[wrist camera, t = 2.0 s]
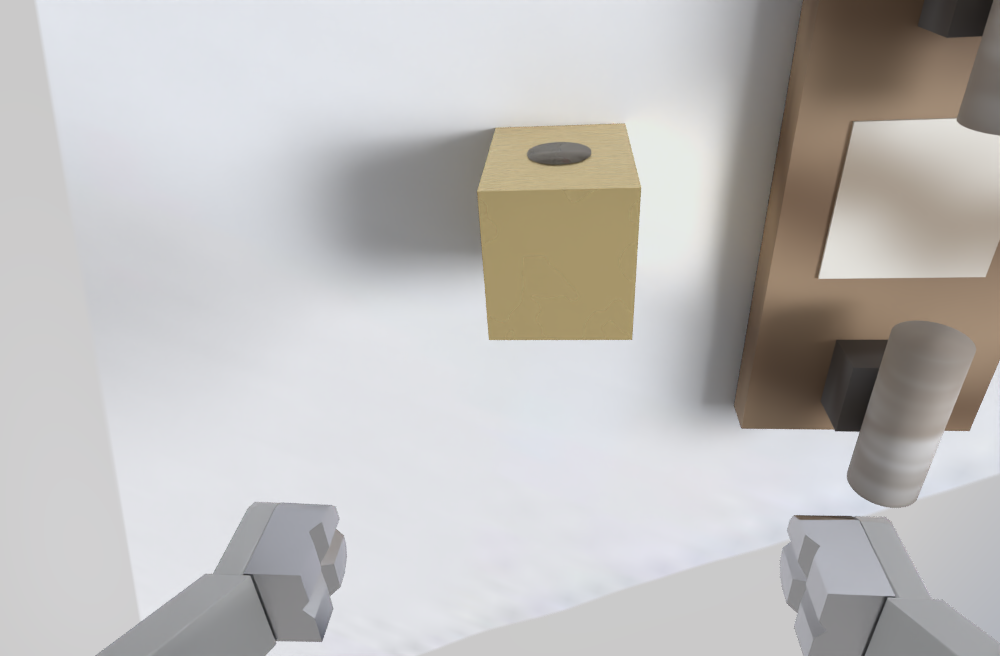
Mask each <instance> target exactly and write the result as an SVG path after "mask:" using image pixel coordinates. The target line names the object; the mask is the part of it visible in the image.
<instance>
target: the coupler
mask: <svg viewBox="0 0 1000 656" xmlns="http://www.w3.org/2000/svg"><path fill="white" fill-rule="evenodd" d="M477 196H478V208H479V221H480V233H481V246H482V258H483V271H484V283H485V296H486V308H487V321H488V333H489V340H632V332H633V315H634V298H635V282H636V265H637V248H638V231H639V214H640V197H641V185H640V181H639V177H638V173H637V169H636V165H635V161H634V157H633V153H632V149H631V145H630V141H629V137H628V133H627V129H626V125H625V124H595V125H565V126H535V127H505V128H496V129H495V132H494V135H493V139H492V142H491V146H490V149H489V153H488V156H487V159H486V163H485V166H484V170H483V173H482V177H481V180H480V183H479V187H478V190H477Z"/></svg>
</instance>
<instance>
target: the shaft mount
mask: <svg viewBox="0 0 1000 656" xmlns="http://www.w3.org/2000/svg"><path fill="white" fill-rule="evenodd" d="M999 360H1000V0H803V2H802V8H801V14H800V20H799V26H798V32H797V38H796V44H795V50H794V55H793V61H792V67H791V73H790V79H789V85H788V91H787V97H786V102H785V108H784V114H783V120H782V126H781V132H780V138H779V144H778V149H777V155H776V161H775V167H774V173H773V179H772V185H771V191H770V197H769V202H768V208H767V214H766V220H765V226H764V232H763V238H762V244H761V249H760V255H759V261H758V267H757V273H756V279H755V285H754V291H753V296H752V302H751V308H750V314H749V320H748V326H747V332H746V338H745V343H744V349H743V355H742V361H741V367H740V373H739V379H738V385H737V391H736V396H735V402H734V407H735V410H736V413H737V416H738V420H739V423H740V426H741V428H743V429H835V431H857V432H860V433H859V436H858V439H857V442H856V446H855V449H854V452H853V455H852V459H851V462H850V465H849V468H848V471H847V480H848V482H849V484H850V486H851V487H852V489H853V490H854V491H855V492H856V493H857V494H859V495H860V496H861V497H863V498H864V499H866V500H868V501H870V502H872V503H874V504H877V505H880V506H884V507H890V508H901V507H906V506H909V505H911V504H913V503H914V502H915V501H916V500H917V498H918V495H919V493H920V490H921V488H922V485H923V483H924V480H925V478H926V475H927V473H928V470H929V468H930V465H931V463H932V460H933V458H934V455H935V453H936V450H937V448H938V445H939V443H940V440H941V438H942V435H943V433H944V431H970V428H971V426H972V424H973V421H974V419H975V417H976V414H977V412H978V410H979V407H980V405H981V403H982V400H983V398H984V396H985V393H986V391H987V389H988V386H989V384H990V382H991V379H992V377H993V374H994V372H995V370H996V367H997V365H998V363H999Z"/></svg>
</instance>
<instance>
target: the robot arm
mask: <svg viewBox="0 0 1000 656" xmlns="http://www.w3.org/2000/svg"><path fill="white" fill-rule="evenodd" d="M338 522H339V516H338V512H337V509H336V506H332V505H319V504H299V503H271V502H254V503H253V504H252V505H251V506H250V507H249V508H248V509H247V511H246V513H245V515H244V517H243V518H242V520H241V522H240V524H239V526H238V528H237V530H236V532H235V533H234V535H233V537H232V539H231V541H230V543H229V545H228V547H227V549H226V550H225V552H224V554H223V556H222V558H221V560H220V562H219V564H218V566H217V567H216V569H215V571H214V573H213V574H205V575H203V576H202V577H200V578H199V579H198V580H196V581H195V582H194V583H192V584H191V585H190V586H188V587H187V588H186V589H184V590H183V591H182V592H180V593H179V594H178V595H176V596H175V597H174V598H172V599H171V600H170V601H168V602H167V603H165V604H164V605H163V606H161V607H160V608H159V609H157V610H156V611H155V612H153V613H152V614H151V615H149V616H148V617H147V618H145V619H144V620H143V621H141V622H140V623H139V624H137V625H136V626H135V627H134V628H132V629H131V630H129V631H128V632H126V634H124V635H122V636H121V637H120V638H118V639H117V640H116V641H115V642H113V643H112V644H110V645H109V646H108V647H106V648H105V649H104V650H102V651H101V652H100V653H98V654H97V655H96V656H265V655H266V654H267V653H268V652H269V651H270V650H271V649H272V648H273V647H274V646H275V645H276V641H306V642H322V641H323V638H324V635H325V632H326V629H327V626H328V623H329V620H330V617H331V614H332V611H333V606H332V602H331V599H330V596H331V595H332V594H333V593H334V592H335V591H336V590H337V589H339V588H340V587H341V583H342V580H343V577H344V574H345V567H346V559H347V551H346V542H345V538H344V535H343V534H341V533H340V532H339V531H338V530H337V529H336V527H337V524H338ZM787 532H788V535H789V538H790V541H791V542H790V543H789V544H788V545H786V546H785V547H783V549H782V554H781V559H780V578H781V584H782V589H783V593H784V596H785V599H786V603H787V604H788V605H789V606H790V607H791V608H792V609H793V610H795V611H796V612H797V613H798V614H797V618H796V621H795V625H794V628H795V632H796V635H797V638H798V640H799V644H800V647H801V650H802V653H803V656H1000V643H999V642H998V641H996V640H995V639H994V638H992V637H991V636H990V635H988V634H987V633H986V632H984V631H983V630H982V629H980V628H979V627H977V626H976V625H975V624H974V623H973V622H971V621H970V620H968V619H967V618H966V617H965V616H963V615H962V614H960V613H959V612H958V611H957V610H955V609H954V608H953V607H951V606H950V605H949V604H947V603H946V602H945V601H943V600H939V599H932V597H931V595H930V593H929V591H928V589H927V587H926V586H925V584H924V582H923V580H922V578H921V576H920V574H919V572H918V571H917V569H916V567H915V565H914V563H913V561H912V559H911V558H910V556H909V554H908V552H907V550H906V548H905V546H904V544H903V543H902V541H901V539H900V537H899V535H898V533H897V531H896V530H895V528H894V526H893V524H892V522H891V521H890V520H889V519H887V518H886V517H860V516H855V517H852V516H805V515H793V517H792V518H791V519H790V521H789V525H788V529H787Z"/></svg>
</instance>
